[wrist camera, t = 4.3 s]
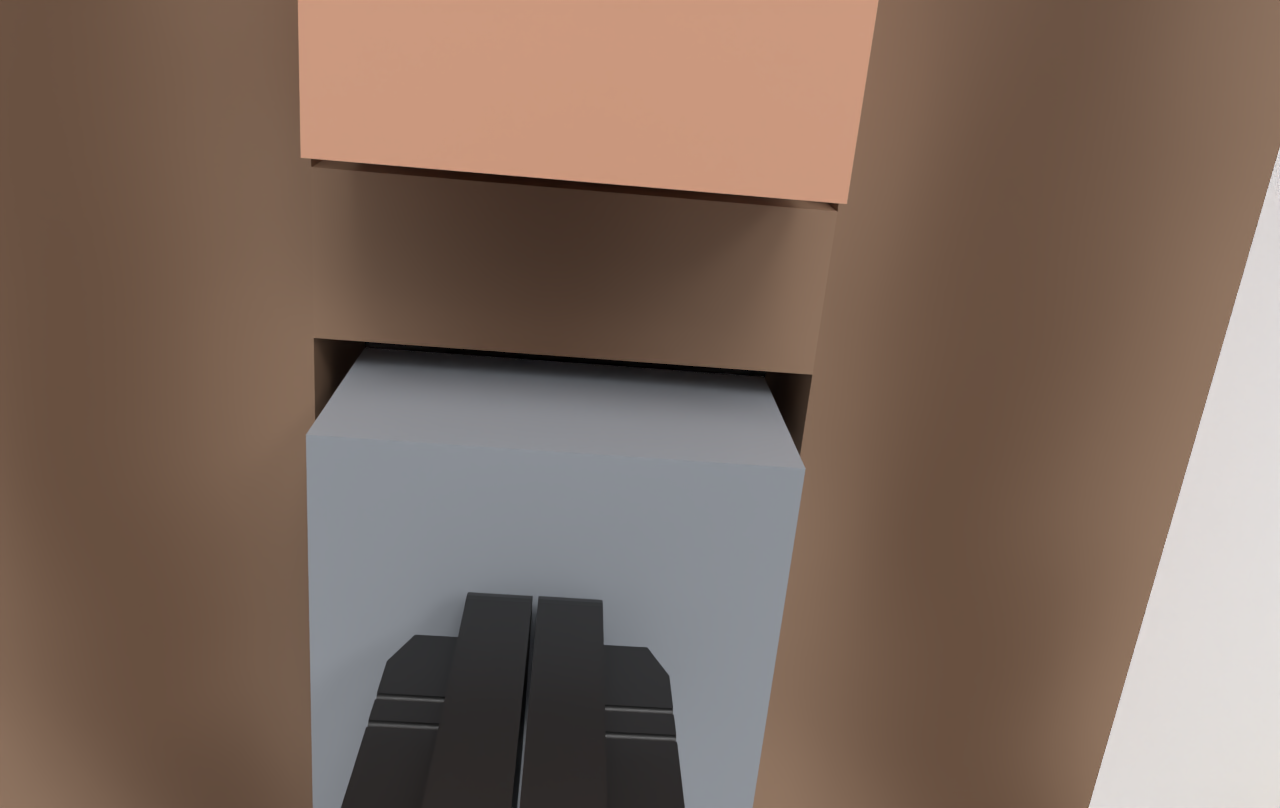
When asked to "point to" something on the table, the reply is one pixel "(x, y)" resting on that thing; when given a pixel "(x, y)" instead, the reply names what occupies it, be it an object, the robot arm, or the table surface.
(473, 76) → the terracotta pad
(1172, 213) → the button board
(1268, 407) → the table surface
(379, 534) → the grey pad
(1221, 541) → the table surface
